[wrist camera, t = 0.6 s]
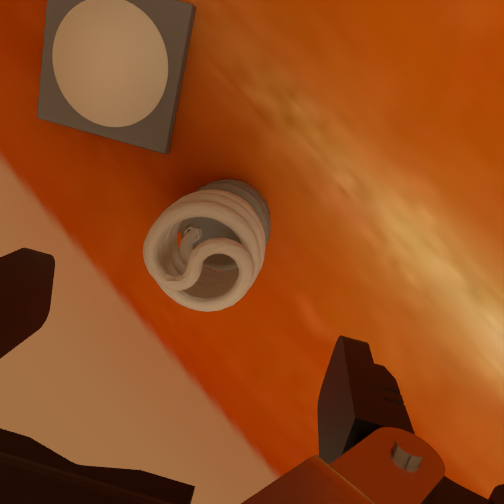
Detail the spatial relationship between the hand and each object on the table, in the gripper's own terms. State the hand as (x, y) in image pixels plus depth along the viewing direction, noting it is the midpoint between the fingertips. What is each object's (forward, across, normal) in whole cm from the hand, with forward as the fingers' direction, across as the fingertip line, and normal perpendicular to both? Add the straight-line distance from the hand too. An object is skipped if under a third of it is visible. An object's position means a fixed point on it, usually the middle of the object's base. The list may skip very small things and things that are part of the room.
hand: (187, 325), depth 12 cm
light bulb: (+19, +1, +1) cm, 19 cm away
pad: (+19, +11, -6) cm, 23 cm away
